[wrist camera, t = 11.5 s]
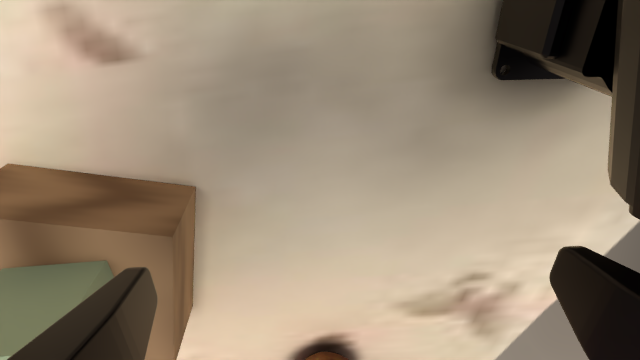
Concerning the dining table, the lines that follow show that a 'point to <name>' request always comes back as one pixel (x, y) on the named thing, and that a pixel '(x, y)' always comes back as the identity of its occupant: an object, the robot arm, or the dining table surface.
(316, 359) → the fruit
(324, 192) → the dining table surface
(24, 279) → the sage cube
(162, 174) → the dining table surface
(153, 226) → the walnut block
